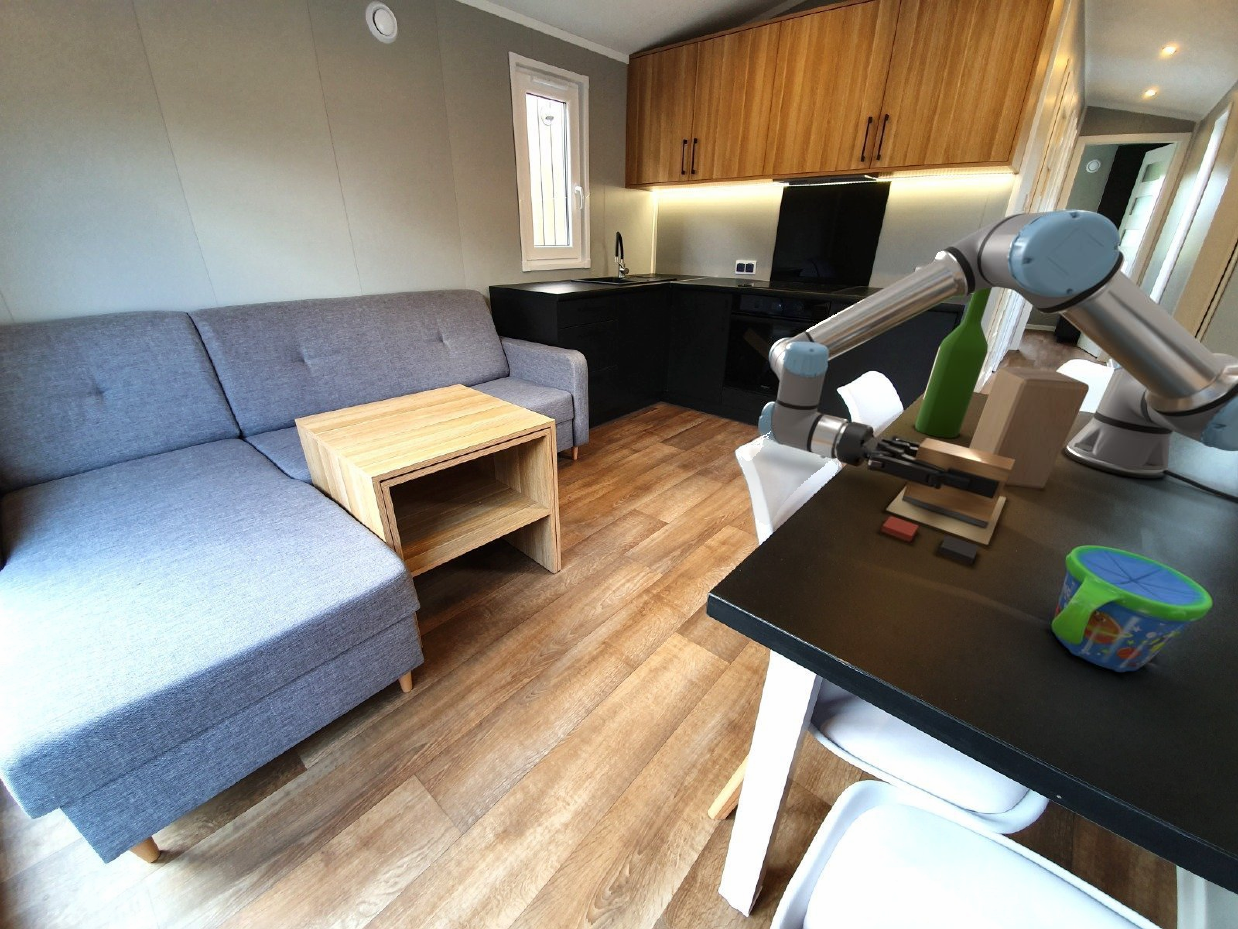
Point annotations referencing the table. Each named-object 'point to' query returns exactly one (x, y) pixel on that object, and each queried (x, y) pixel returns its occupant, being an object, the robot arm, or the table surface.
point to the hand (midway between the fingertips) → (998, 483)
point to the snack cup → (1123, 607)
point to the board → (947, 519)
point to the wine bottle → (955, 373)
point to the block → (1029, 421)
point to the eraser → (952, 498)
